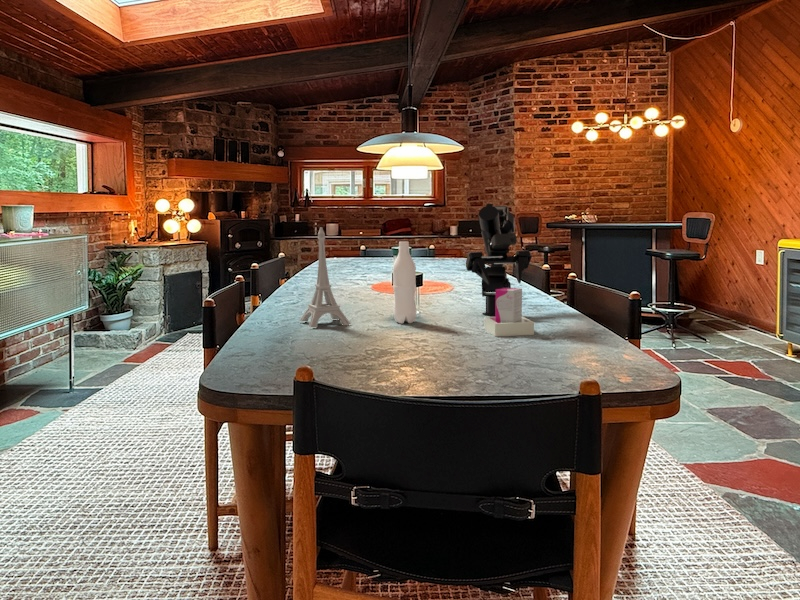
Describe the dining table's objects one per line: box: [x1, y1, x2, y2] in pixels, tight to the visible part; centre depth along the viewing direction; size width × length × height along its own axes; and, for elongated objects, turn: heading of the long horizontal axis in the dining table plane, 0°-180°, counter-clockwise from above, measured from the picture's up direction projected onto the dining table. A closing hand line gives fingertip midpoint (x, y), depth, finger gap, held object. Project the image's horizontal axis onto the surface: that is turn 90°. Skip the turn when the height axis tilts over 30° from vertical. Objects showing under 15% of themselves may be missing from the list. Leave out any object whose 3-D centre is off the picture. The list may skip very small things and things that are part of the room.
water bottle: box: [392, 240, 417, 324], centre depth 196 cm, size 7×7×25 cm
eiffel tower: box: [299, 226, 351, 327], centre depth 195 cm, size 13×13×30 cm
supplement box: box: [494, 287, 523, 323], centre depth 179 cm, size 6×6×12 cm
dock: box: [483, 315, 535, 337], centre depth 180 cm, size 11×11×4 cm
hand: (504, 282), depth 182 cm, fingers open, 9 cm apart
